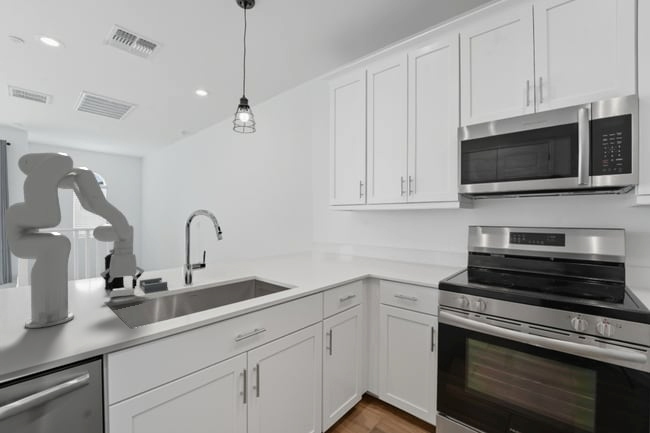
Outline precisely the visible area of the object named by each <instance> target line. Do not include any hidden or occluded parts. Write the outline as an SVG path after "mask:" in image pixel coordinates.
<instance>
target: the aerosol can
mask: <svg viewBox="0 0 650 433" xmlns="http://www.w3.org/2000/svg"><path fill="white" fill-rule="evenodd" d="M112 255H113V253H110V254H107V255H106V256H105V257H104V271H105V270H107V269H109V268H110V261H111V256H112ZM105 276H106V277H108V278H110V277H111V276H110V274H109V272H108V273H107V274H105ZM124 278H125V277H115V278H114V279H113V280H112V282H113V289H120V288H125V285H124V284H125V283H124V282H125V281H124ZM104 283H105V284H104V285H105V287H104V290H108V291H110V289H108V284H109V282H107V281H106V280H105V279H104Z"/></svg>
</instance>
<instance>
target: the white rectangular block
mask: <svg viewBox="0 0 650 433" xmlns="http://www.w3.org/2000/svg"><path fill="white" fill-rule="evenodd" d="M135 290H136V288H135V289H133V288H132V287H122V288H119V289H113V291H110V292H109V298H110V297H111V298H112V297H124V296H134V295H135V293H136V292H135Z"/></svg>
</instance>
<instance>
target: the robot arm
mask: <svg viewBox="0 0 650 433" xmlns="http://www.w3.org/2000/svg"><path fill="white" fill-rule="evenodd" d="M17 166H18V168H19V170H20V171H21V172H22V174H24V175H25V176H26V177H25V180H24V182H23V186H22V187H23V189H22V190H23V200H24V201H19V202H15V203H14V204H11V205H9V207H8V208H7V209H6V211H5V212H4V216H3V220H4V221H3V222H4V223H3V224H4V228H5V234H6V238H7V243H8V247H9V250H10V252H11V254H12V255H13V256H14V257H16V258H19V259H23V260H35V262H34V264H33V265H32V268H31V271H30V300H31V301H30V302H31V303H30V306H31V314H30V315H31V318H30V319H28V320H27V321H26V322H25V323H24V326H25V327H26V328H27V329H28V328H29V329H37V328H46V327H51V326H56V325H57V326H58V325H60V324H64V323H66V322H69V321H71V320H72V319H73V318H74V317H75V314H74V313H73V312H70V311H69V282H68V281H69V275H68V274H69V273H68V271H69V267H68V266H69V258H70V254H71V249H72V248H71V247H72V242H71V240H70V238H69V237H67V235H65V234H63V233H59V232H51V231H49V232H48V231H47V232H46V231H45V232H44V231H41V232H40V230H48V229H54V228H57V227H58V226H59V225H60V223H61V221H62V211H61V206H60V201H59V200H60V199H59V192H58V191H59V190H58V189H61V190H70V189H71V190H72V191H73V192H74V194H75V196H76V198H77V199H78V202H79V203H80V206H81V207H82V209H83V210H85V211H87V212H89V213H91V214H94V215H96V216H98V217H101V218H103V219H105V221H107V223H108V224H101V225H98V226H96V227H95V228H94V229H93V231H92V236H93V238H94V239H95V240H96V241H99V242H103V243H106V242H110V243H111V242H113V248H112V249H109V253H110V254H111V253H113V255H112V256H111V261H110V268H109V269H107V270H105V269H104V270H103V271H102V272H101V273H100V276H101V277H102V278H103V279H104V281H105V280H106V281H107V282H109V284H108V289H110V290H109V291H110V292H111V291H113V282H112V280H113V279H114V278H115V277H124V278H125V277H130V276H131V278H132V280H131V281H132V283H131V284H132V285H131V288H133V289H135V290H136V287H137V282H138V281H137V280H138V279H139V278H141V276H142V275H143V273H144V272H145V270H144V269H143V268H141V267H138V266H137V257H136V254H135V253H134V232H135V231H134V226H133V225H131V224H129V222H128V220H127V217H126V216H125V214H123V212H122V211H121V210H120V209H118V208H117V207H116V206H114V205H113V204H112V203H111V202H109V201H108V200H107V198H106V196H105V194H104V192H103V190H102V188H101V185H100V184H99V181H98V179H97V177H96V176H95V173H94V172H93V171H92V170H91V169H89V168H86V167H81V166H80V167H77V166H76V167H74V161H73V158H72V157H71V156H70V155H68V154H66V153H62V152H35V153H32V152H31V153H26V154H23V155H22V156H20V157H19V159H18V162H17ZM137 271H139V272H137ZM108 272H109V274H110V276H111V277H110V278H108V277H106V276H105V274H107V273H108Z"/></svg>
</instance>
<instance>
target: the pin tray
mask: <svg viewBox="0 0 650 433" xmlns="http://www.w3.org/2000/svg"><path fill="white" fill-rule="evenodd" d="M138 286H139V288H140V289H141V290H142V291H143V293H144V294H146V293H152V292H159V291H160V292H161V291H166V290H169V287H168V281H163V277H156V278H147V279H140V280H139V285H138Z"/></svg>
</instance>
